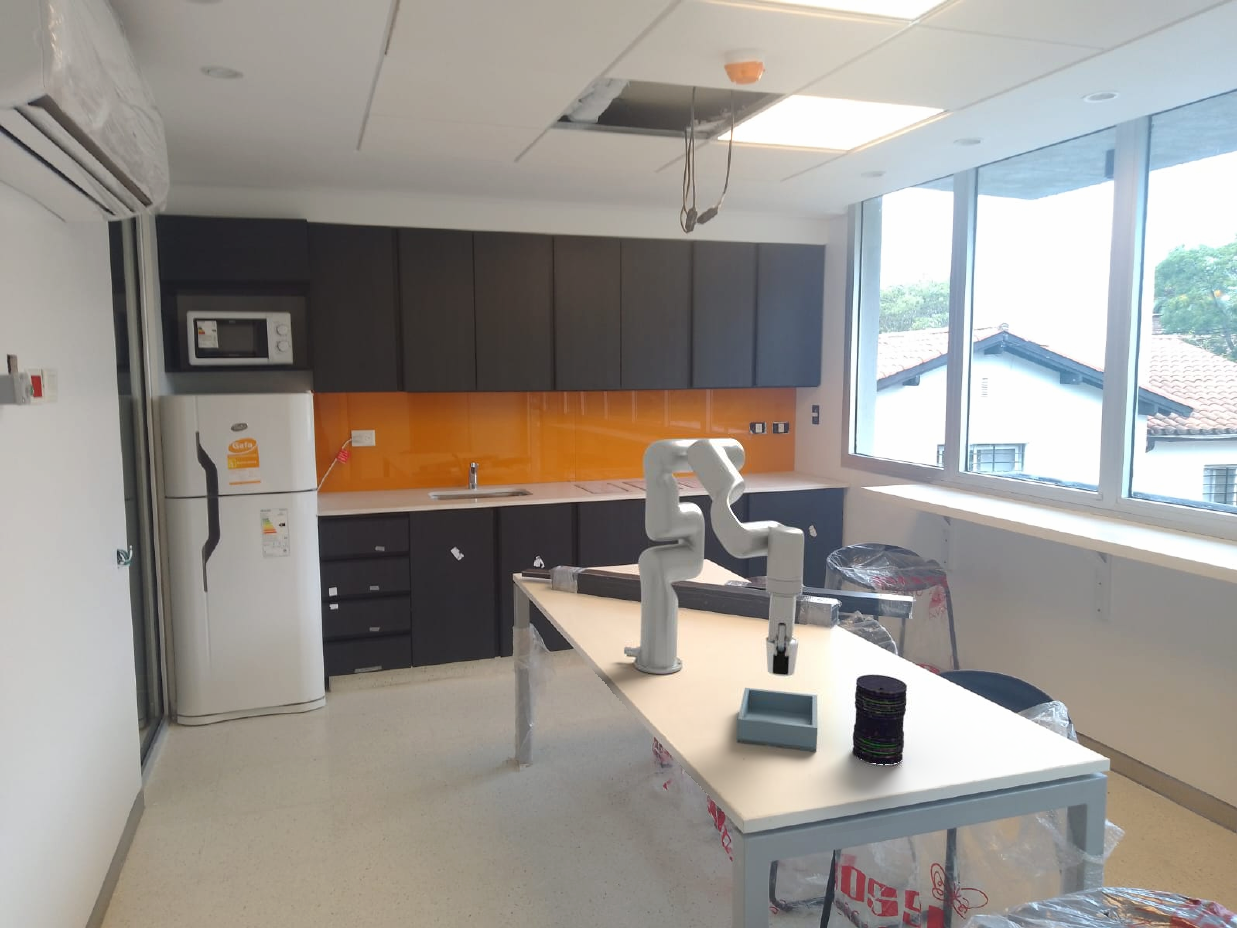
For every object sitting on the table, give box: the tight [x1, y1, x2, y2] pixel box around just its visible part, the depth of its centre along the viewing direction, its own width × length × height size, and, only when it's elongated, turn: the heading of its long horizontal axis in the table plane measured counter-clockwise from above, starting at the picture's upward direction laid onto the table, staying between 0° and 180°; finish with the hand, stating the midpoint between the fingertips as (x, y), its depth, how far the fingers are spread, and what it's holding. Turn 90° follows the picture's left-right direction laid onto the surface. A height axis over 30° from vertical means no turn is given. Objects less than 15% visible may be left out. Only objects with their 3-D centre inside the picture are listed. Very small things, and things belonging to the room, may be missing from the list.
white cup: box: [765, 636, 799, 677], centre depth 177 cm, size 7×7×7 cm
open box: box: [736, 687, 818, 752], centre depth 179 cm, size 16×18×5 cm
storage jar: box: [852, 674, 908, 765], centre depth 167 cm, size 10×10×15 cm
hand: (780, 667), depth 177 cm, fingers closed on white cup, 5 cm apart
